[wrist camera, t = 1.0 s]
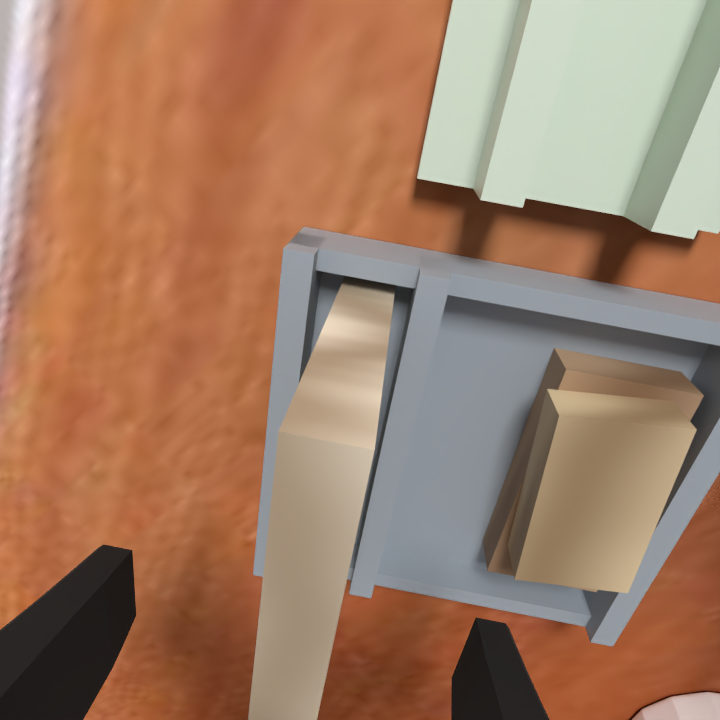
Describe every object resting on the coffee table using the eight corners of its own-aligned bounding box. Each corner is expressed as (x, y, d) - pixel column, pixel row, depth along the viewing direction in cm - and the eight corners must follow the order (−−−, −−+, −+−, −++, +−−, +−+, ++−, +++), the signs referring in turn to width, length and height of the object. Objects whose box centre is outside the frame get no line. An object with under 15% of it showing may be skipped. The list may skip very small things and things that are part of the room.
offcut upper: (672, 400, 14) (696, 429, 13) (612, 557, 17) (627, 593, 16) (546, 388, 14) (559, 415, 13) (507, 544, 17) (514, 579, 16)
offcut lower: (680, 371, 15) (704, 395, 14) (584, 560, 19) (596, 592, 18) (554, 347, 15) (566, 369, 14) (482, 539, 19) (487, 570, 18)
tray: (739, 307, 15) (797, 344, 13) (590, 585, 20) (612, 646, 18) (303, 226, 15) (283, 248, 13) (271, 522, 21) (253, 575, 18)
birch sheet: (395, 285, 15) (374, 449, 8) (345, 533, 20) (304, 780, 12) (345, 275, 15) (278, 431, 8) (307, 525, 20) (242, 768, 12)
